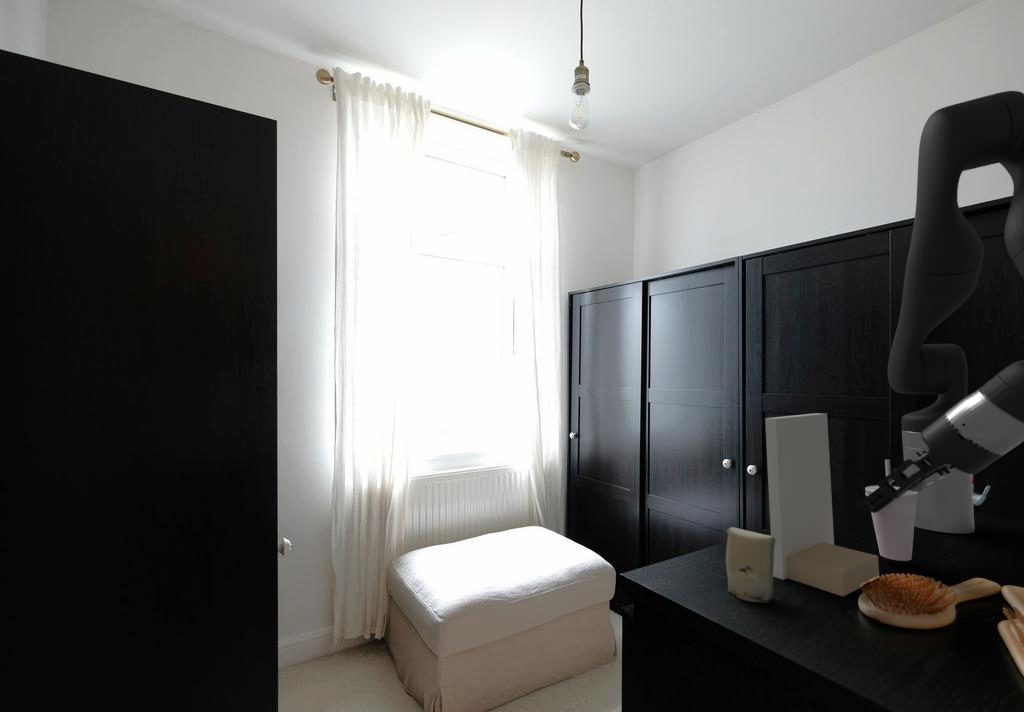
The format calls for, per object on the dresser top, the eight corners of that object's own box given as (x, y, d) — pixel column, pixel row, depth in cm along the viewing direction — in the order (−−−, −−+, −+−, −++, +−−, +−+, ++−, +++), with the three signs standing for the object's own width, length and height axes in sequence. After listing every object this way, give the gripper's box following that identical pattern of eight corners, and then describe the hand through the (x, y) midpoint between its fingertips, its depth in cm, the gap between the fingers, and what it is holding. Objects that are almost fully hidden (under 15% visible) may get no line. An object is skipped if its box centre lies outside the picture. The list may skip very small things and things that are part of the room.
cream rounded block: (769, 588, 65) (766, 526, 65) (783, 606, 60) (780, 539, 60) (723, 586, 66) (721, 525, 66) (733, 603, 61) (730, 537, 61)
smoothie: (909, 550, 75) (903, 457, 75) (933, 565, 69) (926, 464, 69) (861, 547, 76) (855, 456, 77) (880, 562, 70) (873, 463, 71)
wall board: (824, 555, 76) (816, 413, 77) (889, 573, 69) (879, 415, 70) (772, 576, 69) (765, 418, 70) (839, 598, 61) (829, 421, 63)
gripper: (968, 407, 71) (878, 477, 80) (928, 413, 63) (834, 489, 73) (1022, 447, 66) (921, 517, 76) (987, 459, 59) (878, 535, 68)
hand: (879, 503), depth 74 cm, fingers closed on smoothie, 6 cm apart
